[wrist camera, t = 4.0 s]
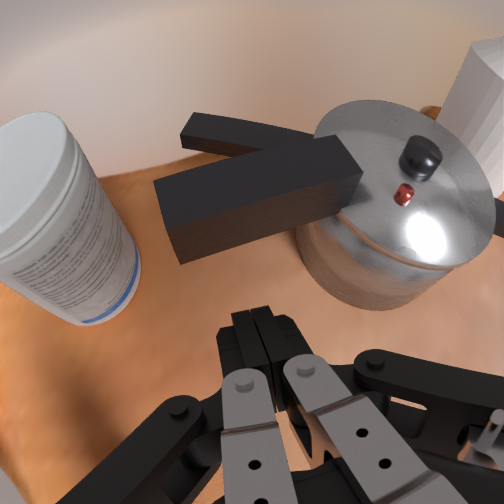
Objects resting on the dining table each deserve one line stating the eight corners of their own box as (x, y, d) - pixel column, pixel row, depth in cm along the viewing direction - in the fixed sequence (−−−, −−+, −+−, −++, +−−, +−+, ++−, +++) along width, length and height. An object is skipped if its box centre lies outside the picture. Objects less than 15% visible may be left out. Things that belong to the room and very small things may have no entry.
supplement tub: (148, 226, 28) (94, 93, 15) (140, 331, 24) (39, 242, 10) (59, 232, 27) (-21, 127, 14) (42, 326, 23) (-77, 252, 10)
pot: (455, 208, 30) (497, 157, 22) (460, 330, 24) (526, 297, 16) (222, 144, 32) (218, 73, 24) (171, 260, 26) (143, 196, 18)
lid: (417, 102, 24) (431, 71, 21) (515, 231, 18) (544, 205, 15) (149, 153, 20) (137, 110, 16) (218, 377, 14) (211, 370, 10)
